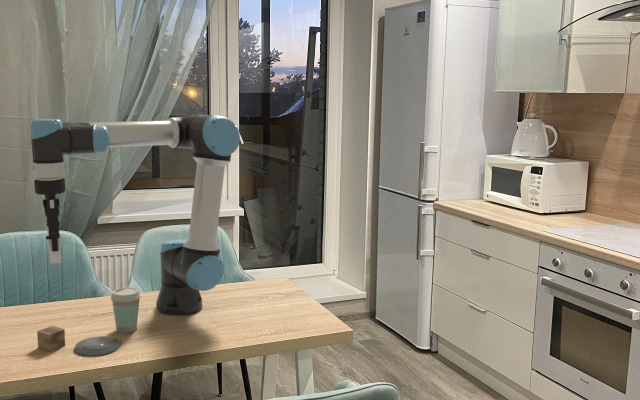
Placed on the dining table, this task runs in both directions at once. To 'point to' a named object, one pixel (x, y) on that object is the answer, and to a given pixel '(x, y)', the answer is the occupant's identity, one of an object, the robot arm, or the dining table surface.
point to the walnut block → (51, 338)
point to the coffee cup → (126, 309)
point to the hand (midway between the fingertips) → (54, 256)
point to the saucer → (97, 346)
